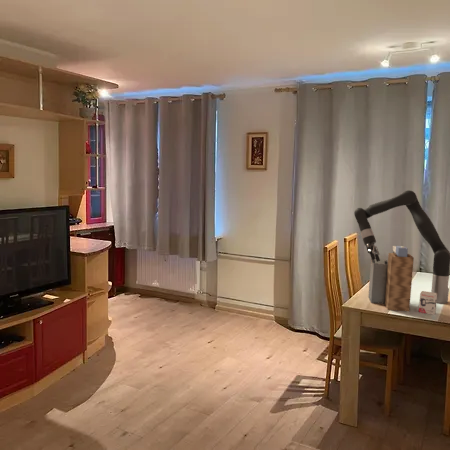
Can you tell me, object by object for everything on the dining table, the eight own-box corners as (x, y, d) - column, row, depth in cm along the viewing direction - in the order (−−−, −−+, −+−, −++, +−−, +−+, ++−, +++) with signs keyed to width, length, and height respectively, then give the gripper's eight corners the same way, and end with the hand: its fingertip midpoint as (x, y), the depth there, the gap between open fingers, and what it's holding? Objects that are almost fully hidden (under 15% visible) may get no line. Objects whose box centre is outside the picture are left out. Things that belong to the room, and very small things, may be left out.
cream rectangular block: (399, 250, 292) (400, 241, 291) (407, 257, 270) (407, 247, 269) (391, 249, 292) (392, 240, 292) (398, 256, 271) (398, 246, 270)
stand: (405, 305, 284) (409, 252, 280) (409, 311, 273) (413, 255, 269) (384, 304, 286) (388, 251, 282) (387, 309, 275) (392, 254, 271)
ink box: (418, 312, 273) (420, 292, 271) (420, 309, 277) (421, 290, 275) (434, 314, 268) (435, 295, 267) (435, 312, 272) (437, 293, 271)
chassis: (384, 297, 301) (386, 259, 298) (387, 304, 287) (390, 264, 283) (367, 296, 303) (370, 258, 300) (371, 302, 288) (373, 263, 285)
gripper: (369, 233, 297) (377, 257, 291) (377, 236, 308) (385, 259, 302) (358, 237, 301) (366, 261, 295) (366, 240, 312) (374, 263, 306)
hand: (376, 260), depth 298 cm, fingers open, 8 cm apart
